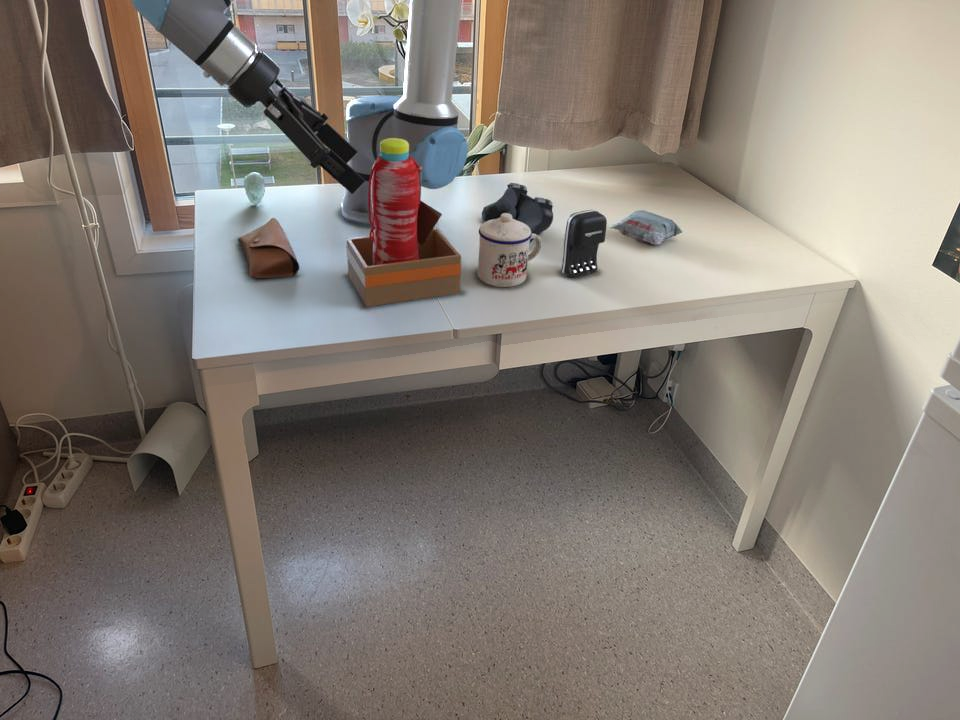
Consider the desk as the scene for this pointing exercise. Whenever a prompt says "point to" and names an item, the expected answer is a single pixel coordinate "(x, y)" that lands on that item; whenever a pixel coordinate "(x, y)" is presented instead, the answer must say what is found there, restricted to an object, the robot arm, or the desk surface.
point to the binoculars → (522, 209)
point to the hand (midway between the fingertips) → (355, 171)
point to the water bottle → (397, 205)
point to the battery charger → (583, 242)
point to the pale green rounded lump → (254, 187)
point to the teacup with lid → (505, 251)
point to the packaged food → (647, 227)
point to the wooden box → (404, 272)
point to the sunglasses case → (269, 252)
